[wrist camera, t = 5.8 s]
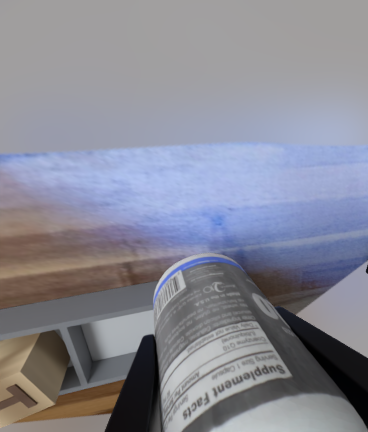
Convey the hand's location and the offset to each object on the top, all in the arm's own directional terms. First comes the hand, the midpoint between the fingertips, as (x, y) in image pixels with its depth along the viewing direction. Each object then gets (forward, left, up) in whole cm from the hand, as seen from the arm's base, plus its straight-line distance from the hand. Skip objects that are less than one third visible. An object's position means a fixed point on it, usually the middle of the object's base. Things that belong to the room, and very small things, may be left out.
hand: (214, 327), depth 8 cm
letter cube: (+13, +8, -9) cm, 18 cm away
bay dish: (+6, +8, -10) cm, 14 cm away
